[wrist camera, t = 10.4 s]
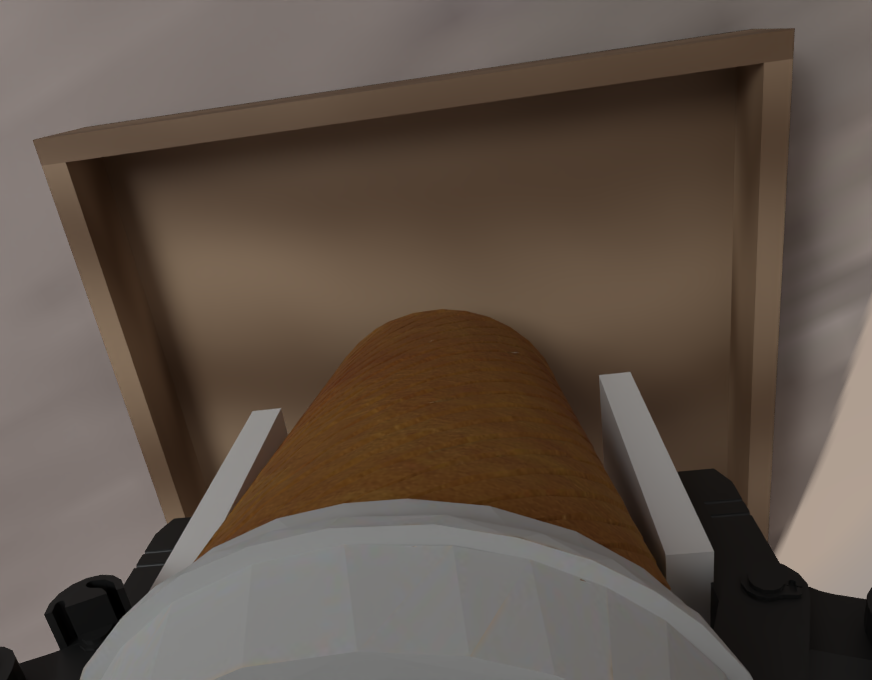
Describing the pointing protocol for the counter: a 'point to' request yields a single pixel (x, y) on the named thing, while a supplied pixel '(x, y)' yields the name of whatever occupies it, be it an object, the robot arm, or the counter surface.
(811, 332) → the counter surface
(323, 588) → the disposable coffee cup
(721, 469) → the box
